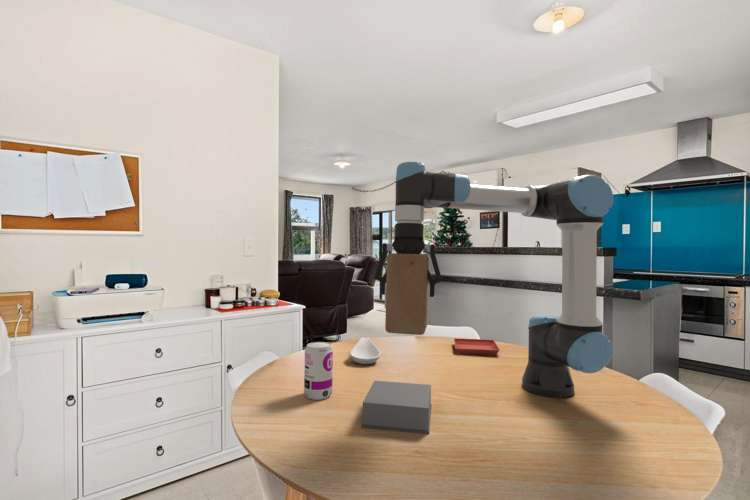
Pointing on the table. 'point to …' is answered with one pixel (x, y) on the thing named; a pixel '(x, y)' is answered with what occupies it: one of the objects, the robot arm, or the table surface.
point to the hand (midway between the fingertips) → (407, 308)
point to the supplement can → (318, 370)
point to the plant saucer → (476, 346)
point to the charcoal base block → (398, 407)
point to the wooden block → (406, 293)
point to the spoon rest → (365, 352)
